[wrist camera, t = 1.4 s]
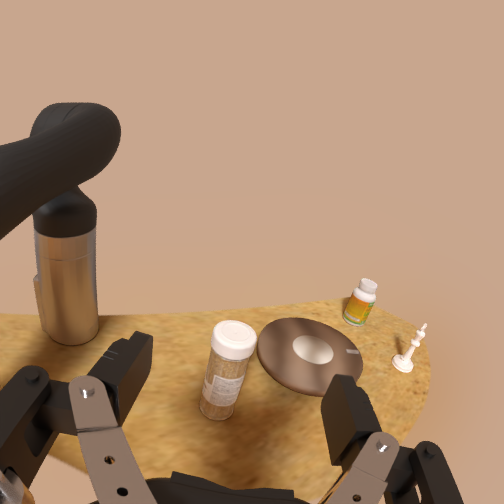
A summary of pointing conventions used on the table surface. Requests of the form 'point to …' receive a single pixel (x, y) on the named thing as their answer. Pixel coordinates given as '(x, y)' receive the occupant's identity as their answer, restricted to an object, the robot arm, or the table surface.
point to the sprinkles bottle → (226, 368)
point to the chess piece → (408, 353)
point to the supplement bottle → (360, 303)
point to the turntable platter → (307, 354)
